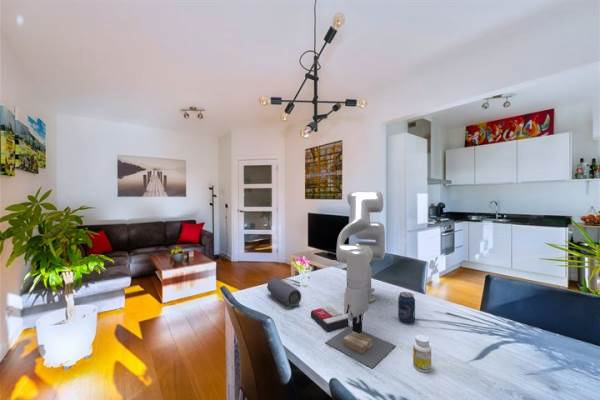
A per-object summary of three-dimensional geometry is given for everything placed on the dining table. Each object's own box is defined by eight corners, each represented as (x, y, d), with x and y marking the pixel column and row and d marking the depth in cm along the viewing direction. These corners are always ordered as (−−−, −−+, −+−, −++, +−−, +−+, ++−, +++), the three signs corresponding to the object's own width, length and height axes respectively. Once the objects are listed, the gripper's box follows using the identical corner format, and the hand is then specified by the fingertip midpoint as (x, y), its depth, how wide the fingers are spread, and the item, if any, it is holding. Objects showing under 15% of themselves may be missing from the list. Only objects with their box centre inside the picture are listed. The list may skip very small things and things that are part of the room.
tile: (353, 330, 97) (343, 338, 92) (372, 338, 92) (362, 347, 87) (353, 337, 97) (343, 345, 92) (372, 346, 92) (362, 354, 87)
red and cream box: (330, 305, 120) (348, 316, 107) (330, 313, 120) (349, 327, 106) (310, 309, 116) (327, 322, 102) (310, 318, 115) (327, 333, 102)
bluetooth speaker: (302, 306, 127) (302, 286, 127) (287, 311, 121) (286, 291, 121) (280, 292, 146) (280, 275, 145) (266, 296, 140) (266, 278, 140)
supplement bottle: (429, 375, 77) (429, 345, 77) (411, 367, 80) (410, 338, 80) (433, 366, 81) (433, 337, 81) (415, 359, 85) (415, 331, 84)
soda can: (395, 321, 110) (395, 294, 110) (401, 315, 115) (401, 290, 115) (412, 326, 105) (411, 299, 105) (417, 320, 111) (417, 294, 110)
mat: (350, 326, 106) (350, 325, 106) (395, 346, 92) (395, 345, 92) (325, 343, 95) (325, 342, 95) (372, 369, 80) (372, 367, 80)
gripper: (359, 275, 99) (359, 320, 100) (336, 285, 89) (336, 335, 89) (376, 280, 94) (376, 327, 94) (354, 291, 84) (354, 344, 84)
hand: (357, 331), depth 92 cm, fingers closed
